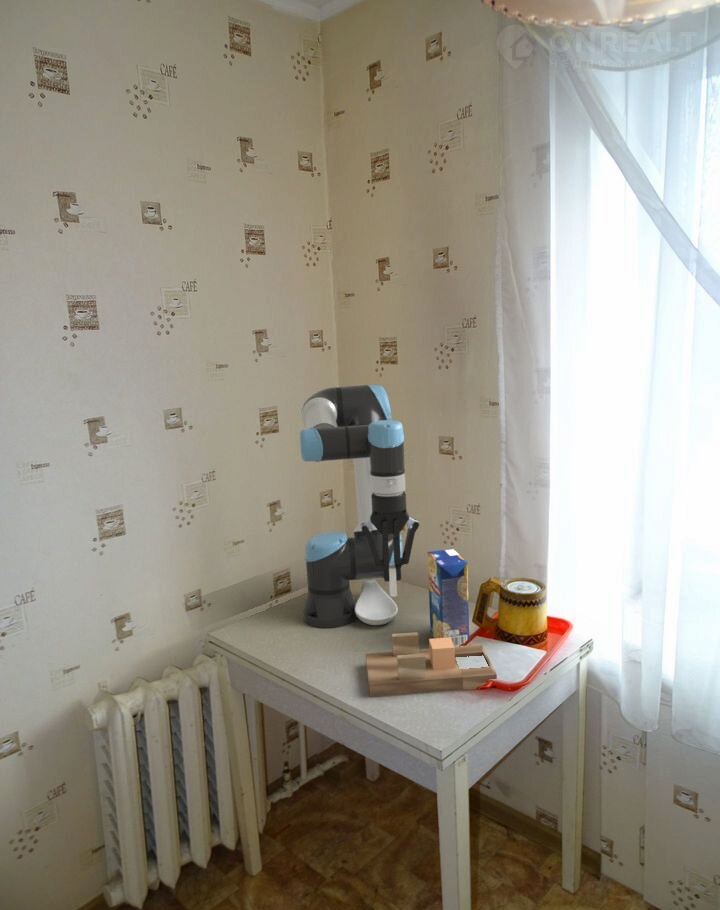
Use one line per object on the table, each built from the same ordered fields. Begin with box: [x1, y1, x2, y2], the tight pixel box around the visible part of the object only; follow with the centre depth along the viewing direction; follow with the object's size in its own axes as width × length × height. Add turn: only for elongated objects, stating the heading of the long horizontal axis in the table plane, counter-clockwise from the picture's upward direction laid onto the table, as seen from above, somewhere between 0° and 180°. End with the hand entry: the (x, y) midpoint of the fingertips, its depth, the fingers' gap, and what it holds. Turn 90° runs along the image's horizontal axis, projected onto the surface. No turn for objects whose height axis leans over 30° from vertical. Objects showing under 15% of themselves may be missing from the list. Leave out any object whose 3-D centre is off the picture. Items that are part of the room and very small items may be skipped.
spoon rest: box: [355, 579, 399, 626], centre depth 190 cm, size 24×12×7 cm, turn 8°
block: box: [428, 637, 455, 670], centre depth 153 cm, size 5×5×5 cm
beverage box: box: [427, 548, 470, 647], centre depth 170 cm, size 7×11×22 cm, turn 11°
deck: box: [365, 631, 498, 698], centre depth 154 cm, size 14×28×8 cm, turn 93°
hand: (393, 593), depth 151 cm, fingers closed
